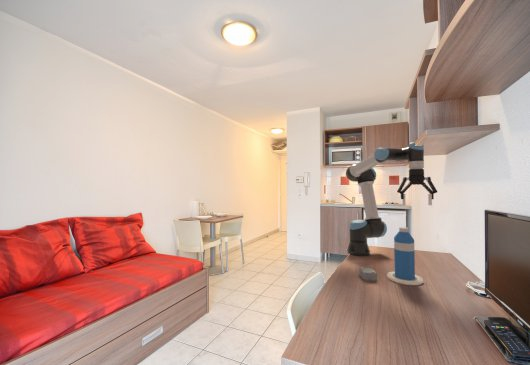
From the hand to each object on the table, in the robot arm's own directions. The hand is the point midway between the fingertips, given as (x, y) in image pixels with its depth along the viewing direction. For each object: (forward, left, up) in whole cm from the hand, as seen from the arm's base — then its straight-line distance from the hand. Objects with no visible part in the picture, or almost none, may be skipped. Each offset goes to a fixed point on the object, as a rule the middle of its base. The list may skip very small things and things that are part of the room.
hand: (416, 205), depth 140 cm
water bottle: (+20, -13, -36) cm, 43 cm away
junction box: (+22, -32, -37) cm, 53 cm away
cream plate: (+20, -14, -37) cm, 44 cm away
